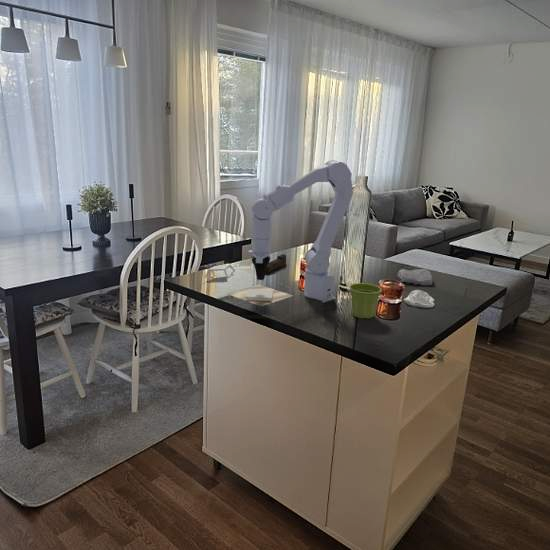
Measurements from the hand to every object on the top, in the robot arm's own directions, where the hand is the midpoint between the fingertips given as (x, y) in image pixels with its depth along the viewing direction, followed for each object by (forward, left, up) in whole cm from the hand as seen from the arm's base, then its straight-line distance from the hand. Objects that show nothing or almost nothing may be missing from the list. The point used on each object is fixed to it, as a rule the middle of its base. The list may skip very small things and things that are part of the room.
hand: (260, 279), depth 154 cm
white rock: (-38, -35, -7) cm, 52 cm away
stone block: (-25, -57, -7) cm, 62 cm away
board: (0, 0, -6) cm, 6 cm away
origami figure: (+24, -4, -7) cm, 25 cm away
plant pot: (-32, -12, -7) cm, 34 cm away
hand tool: (+22, -29, -7) cm, 37 cm away
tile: (+1, -2, -5) cm, 5 cm away
